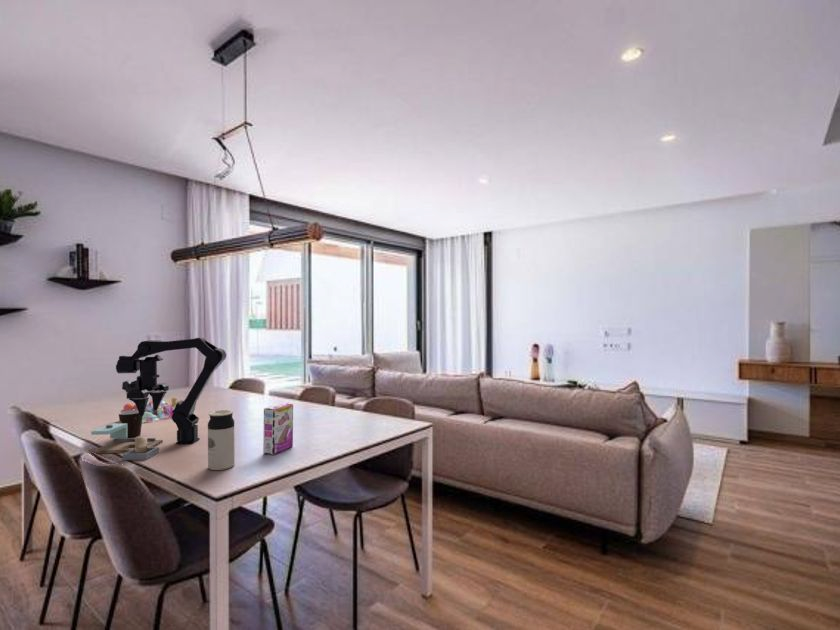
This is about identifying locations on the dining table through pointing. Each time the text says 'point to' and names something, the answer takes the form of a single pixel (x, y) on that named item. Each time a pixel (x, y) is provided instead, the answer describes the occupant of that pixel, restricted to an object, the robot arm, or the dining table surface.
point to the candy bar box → (278, 428)
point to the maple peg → (141, 444)
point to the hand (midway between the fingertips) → (148, 412)
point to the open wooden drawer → (124, 445)
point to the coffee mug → (131, 422)
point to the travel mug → (221, 440)
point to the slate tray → (140, 454)
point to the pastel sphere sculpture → (160, 413)
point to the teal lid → (113, 430)
